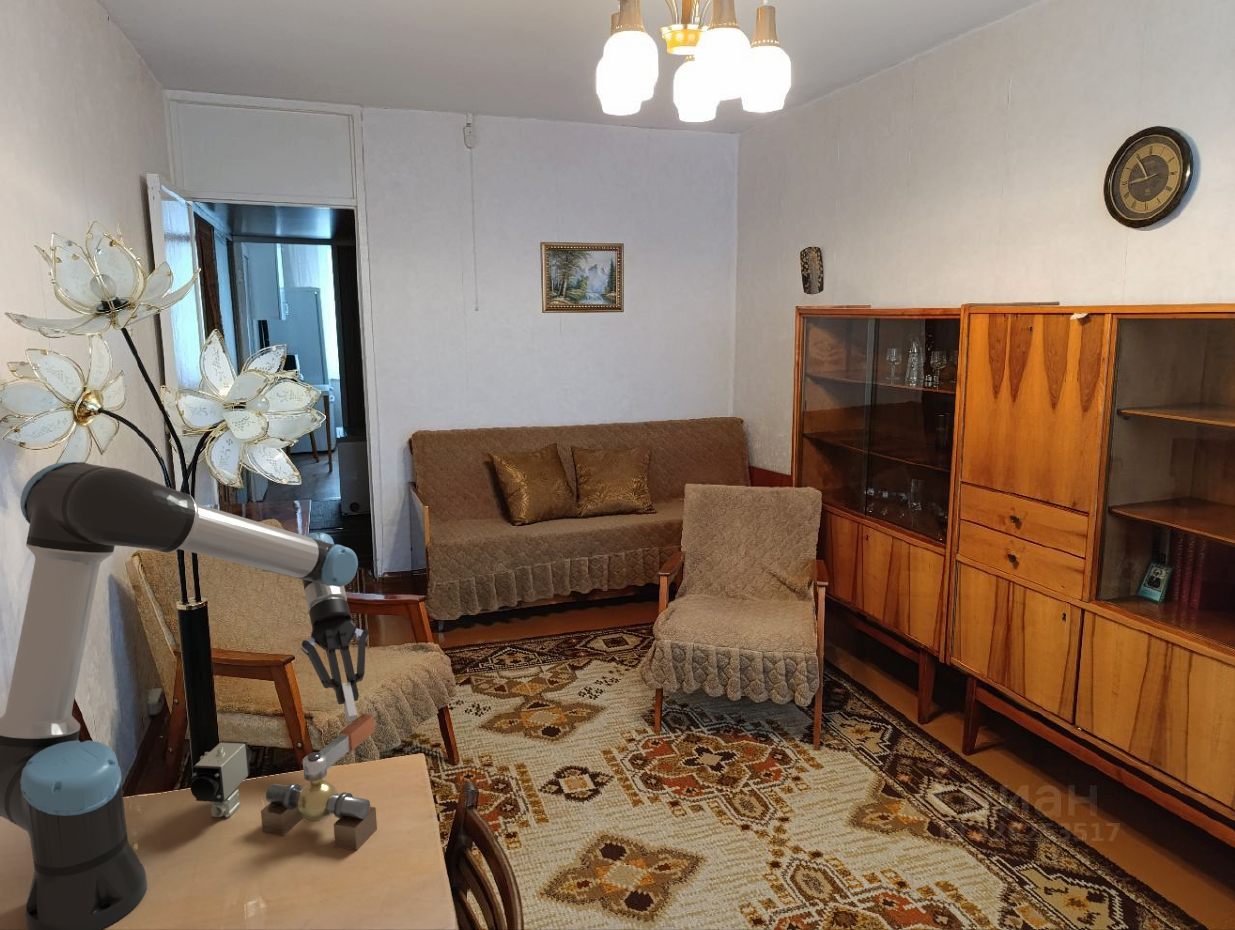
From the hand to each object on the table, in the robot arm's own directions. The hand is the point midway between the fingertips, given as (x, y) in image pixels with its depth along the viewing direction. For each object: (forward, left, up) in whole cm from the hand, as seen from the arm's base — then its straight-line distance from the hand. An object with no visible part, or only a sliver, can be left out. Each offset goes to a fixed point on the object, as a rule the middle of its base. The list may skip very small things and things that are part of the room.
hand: (352, 718), depth 158 cm
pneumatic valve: (-21, -9, -12) cm, 26 cm away
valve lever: (0, -11, -1) cm, 11 cm away
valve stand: (-3, -17, -11) cm, 21 cm away
